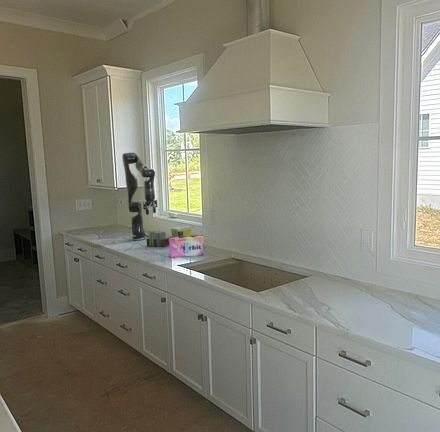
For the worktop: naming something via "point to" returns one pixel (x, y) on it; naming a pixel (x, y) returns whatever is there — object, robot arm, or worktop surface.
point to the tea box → (182, 231)
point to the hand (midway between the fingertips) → (151, 213)
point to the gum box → (186, 245)
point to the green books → (154, 235)
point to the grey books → (160, 238)
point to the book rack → (164, 243)
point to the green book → (150, 238)
